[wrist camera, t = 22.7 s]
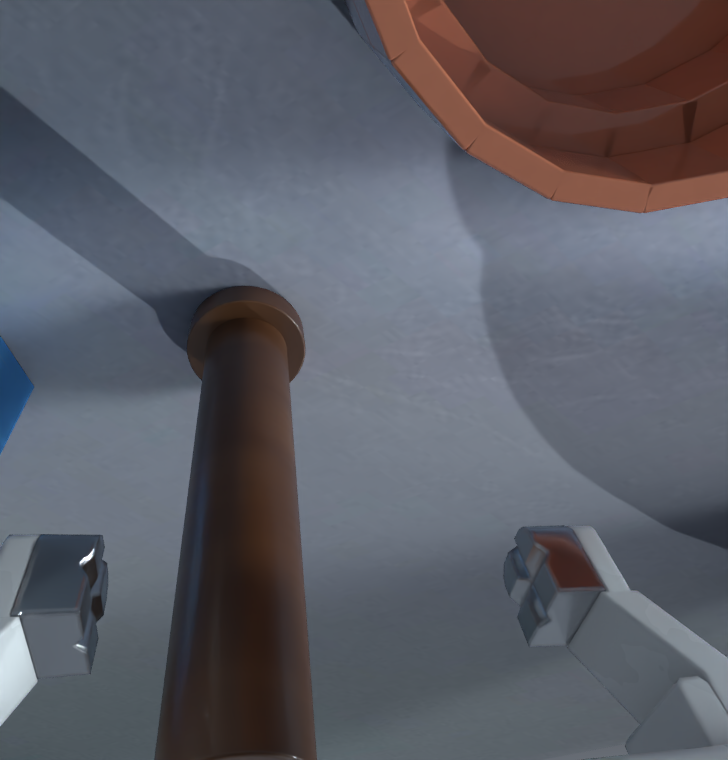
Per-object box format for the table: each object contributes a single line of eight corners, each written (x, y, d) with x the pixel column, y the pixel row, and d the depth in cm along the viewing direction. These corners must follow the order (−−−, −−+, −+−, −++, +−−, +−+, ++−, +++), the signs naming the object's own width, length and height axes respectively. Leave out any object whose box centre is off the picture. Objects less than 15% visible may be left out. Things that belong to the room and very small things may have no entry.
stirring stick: (165, 339, 23) (55, 820, 11) (240, 262, 22) (215, 708, 9) (253, 398, 26) (250, 855, 13) (326, 331, 24) (403, 769, 11)
